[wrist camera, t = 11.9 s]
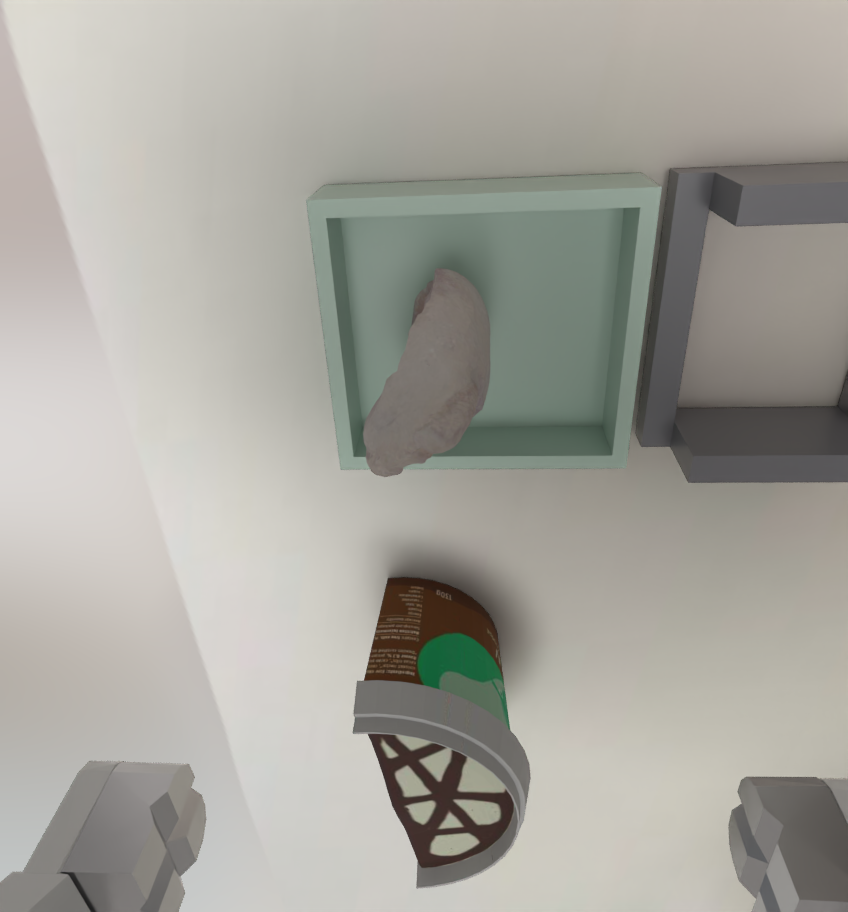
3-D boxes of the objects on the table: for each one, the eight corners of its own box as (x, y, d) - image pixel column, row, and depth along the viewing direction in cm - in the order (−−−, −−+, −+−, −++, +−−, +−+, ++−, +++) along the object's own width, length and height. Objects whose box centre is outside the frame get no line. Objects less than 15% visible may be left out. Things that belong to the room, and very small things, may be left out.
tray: (641, 172, 24) (661, 187, 21) (612, 431, 29) (626, 468, 27) (324, 184, 25) (306, 200, 22) (352, 433, 30) (340, 469, 28)
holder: (948, 157, 23) (1030, 174, 20) (859, 431, 29) (911, 482, 25) (670, 168, 24) (702, 187, 21) (635, 433, 29) (656, 482, 26)
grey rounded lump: (432, 229, 25) (410, 319, 16) (517, 266, 25) (538, 371, 17) (380, 362, 28) (337, 497, 19) (457, 393, 28) (449, 538, 20)
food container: (534, 706, 39) (550, 889, 30) (431, 715, 40) (419, 895, 31) (500, 540, 33) (509, 709, 24) (380, 556, 34) (348, 724, 25)
